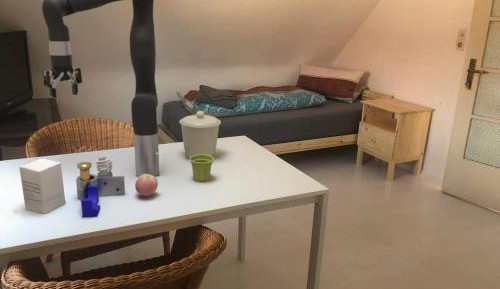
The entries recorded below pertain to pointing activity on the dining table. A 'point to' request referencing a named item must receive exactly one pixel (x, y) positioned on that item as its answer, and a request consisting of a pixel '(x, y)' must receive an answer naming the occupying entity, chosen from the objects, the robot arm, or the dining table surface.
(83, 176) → the hinge pin
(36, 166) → the supplement box
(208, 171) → the plant pot
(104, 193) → the hinge leaf upper
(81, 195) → the hinge leaf lower
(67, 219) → the dining table surface
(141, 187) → the apple
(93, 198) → the cable clip
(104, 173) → the light bulb
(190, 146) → the canister
